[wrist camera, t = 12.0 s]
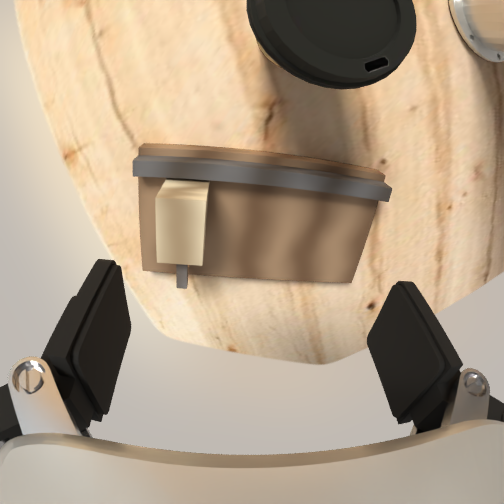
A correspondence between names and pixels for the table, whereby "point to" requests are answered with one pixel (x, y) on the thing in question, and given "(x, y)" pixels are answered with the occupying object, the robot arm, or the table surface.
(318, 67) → the coffee cup
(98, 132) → the table surface
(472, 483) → the robot arm
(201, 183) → the block
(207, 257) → the walnut board
